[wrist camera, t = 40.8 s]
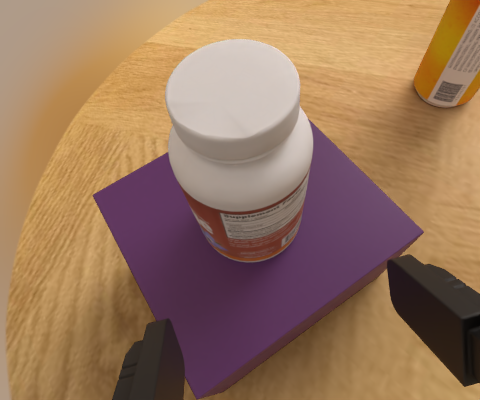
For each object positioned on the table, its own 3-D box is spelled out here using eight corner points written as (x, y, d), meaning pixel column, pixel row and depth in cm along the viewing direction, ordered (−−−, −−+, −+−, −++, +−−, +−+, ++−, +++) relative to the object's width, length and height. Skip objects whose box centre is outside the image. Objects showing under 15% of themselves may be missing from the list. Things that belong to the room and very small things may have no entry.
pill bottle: (197, 184, 23) (139, 40, 13) (287, 167, 23) (297, 10, 13) (208, 275, 20) (144, 175, 10) (312, 255, 20) (347, 137, 10)
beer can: (470, 72, 38) (577, -93, 24) (473, 115, 35) (593, -45, 22) (412, 67, 39) (483, -95, 26) (410, 107, 36) (488, -49, 23)
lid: (97, 200, 24) (91, 194, 23) (278, 96, 27) (278, 88, 26) (199, 399, 18) (196, 400, 17) (419, 236, 21) (424, 231, 20)
